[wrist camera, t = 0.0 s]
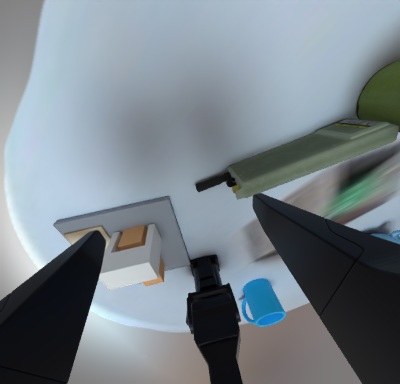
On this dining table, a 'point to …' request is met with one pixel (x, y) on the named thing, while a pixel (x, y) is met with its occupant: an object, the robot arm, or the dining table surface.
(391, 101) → the plant pot
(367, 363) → the robot arm
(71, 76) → the dining table surface
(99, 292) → the dining table surface
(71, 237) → the pad
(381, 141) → the handheld radio
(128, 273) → the block
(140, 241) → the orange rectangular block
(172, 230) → the board
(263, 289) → the mug
